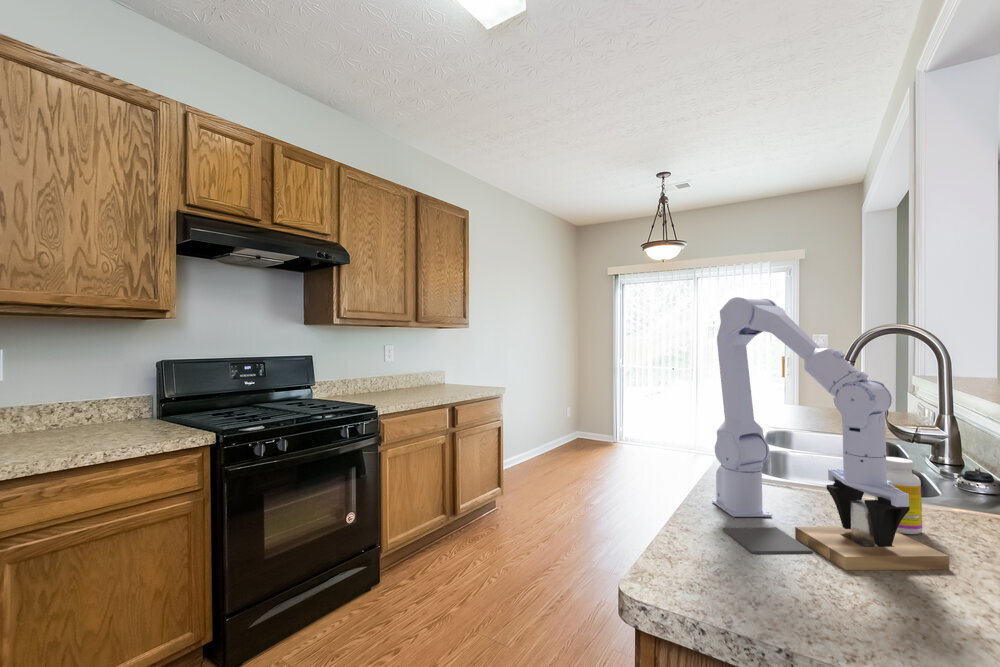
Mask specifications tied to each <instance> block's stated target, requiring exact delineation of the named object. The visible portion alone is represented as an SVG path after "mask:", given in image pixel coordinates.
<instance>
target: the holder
mask: <svg viewBox="0 0 1000 667" xmlns="http://www.w3.org/2000/svg"><path fill="white" fill-rule="evenodd" d="M794 532H795V533H794V536H795V537H794V539H795V540H797V541H798V542H800V543H801V544H803V545H805V546H806V547H808V548H809V549H811V550H812V551H815V552H816V553H818V554H820V555H821V556H822V557H824V558H826V559H827V560H829V561H830V562H832V563H833V564H835V565H837V566H838V567H840V568H842V569H843V570H845V571H891V570H893V571H894V570H896V571H897V570H898V571H901V570H902V571H903V570H905V571H909V570H911V571H912V570H915V571H916V570H917V571H918V570H950V555H948V554H945V553H943V552H942V551H939V550H937V549H935V548H932V547H930V546H928V545H926V544H924V543H922V542H919V541H917V540H915V539H913V538H911V537H909V536H907V535H906V534H902V533H898V532H896V533H895V537H894V540H893V543H892V546H887V547H862V546H860V545H858V544H856V543H854V542H853V541H851V529H845V528H843V526H842V525H840V526H795V528H794Z"/></svg>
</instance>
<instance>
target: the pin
mask: <svg viewBox="0 0 1000 667" xmlns="http://www.w3.org/2000/svg"><path fill="white" fill-rule="evenodd" d="M864 500H865V499H863V500H851V501H850V508H851V541H853V542H854V543H856V544H858V545H860V546H862V547H880V546H877V545H876V544H875V540H874V534H873V525H872V520H871V516H870V513H869V511H868V508H867V506H866V504H865V501H864Z"/></svg>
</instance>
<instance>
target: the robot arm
mask: <svg viewBox="0 0 1000 667" xmlns="http://www.w3.org/2000/svg"><path fill="white" fill-rule="evenodd" d="M719 318H720V323H719V324H720V325H719V328H718V332H717V335H716V344H717V353H718V365H719V373H720V374H719V375H720V383H721V385H720V386H721V393H722V404H723V413H724V414H723V415H724V421H723V422H722V424H721V425H720V426H719V428H717V430H716V435H717V436H716V442H715V444H714V455H715V458H716V460H717V461H718V462H719V464H720V465H719V466H718V468H717V469H716V474H715V486H716V487H715V489H716V490H715V494H716V496H715V497H716V499H712V503H713V504H715V505H716V506H718V507H719V508H720V509H721V510H723V511H725V512H726V513H728V514H729V515H730V516H732V517H734V518H737V517H738V518H754V517H755V518H757V517H758V518H759V517H761V518H763V517H766V518H767V517H768V518H771V517H773V514H772V513H771V512H769V511H768V510H766V509H765V508H764V507H763V474H762V473H763V472H762V471H763V468H764V462H766V461H767V459H768V458H769V456H770V447H769V443H768V442H767V440H766V438H765V435H764V431H763V430H764V428H762V427H761V425H759V424H758V423H757V421H755V417H754V416H755V415H754V407H753V398H752V389H751V387H752V386H751V377H750V370H749V361H748V360H749V359H748V350H747V345H748V344H749V343H750V342H751V341H752V340H753V339H754V338H755V336H758V335H759V334H761V333H763V332H764V333H765V332H766V333H771V334H772V335H773V336H774V337H776V338H777V339H779V341H781V342H782V343H783V344H784V345H786V347H788V348H789V349H791V350H792V352H794V353H795V354H796V355H797V356H799V357H800V358H801V359H803V362H804V365H803V366H804V367H803V368H804V370H805V372H807V373H808V374H809V375H810V376H811V377H812V378H813V379H814V380H815V381H816V382H817V383H818V384H819V385H820V386H821V387H822V388H823V389H824V390H825V391H827V392H828V393H829V394H830V395H831V396H833V403H834V406H835V407H836V409H837V411H839V413H840V415H841V422H842V423H841V425H842V426H841V427H842V467H843V468H842V469H843V470H841V469H838V468H836V469H835V468H831V469H830V468H829V469H827V470H828V471H827V472H828V474H827V475H828V476H827V477H828V481H830V482H833V484H826V491H827V492H828V493H829V495H830V496H831V498H832V499H833V502H834V504H835V506H836V509H837V512H838V513H837V514H838V515H839V519H840V521H841V522H840V523H841V524H842V525H841V526H843V528H845V529H851V508H850V501H851V500H862V499H863V496H864V494H867V495H870V496H872V497H877V498H878V500H875V499H863V500H864V501H865V504H866V506H867V508H868V511H869V513H870V516H871V520H872V525H873V534H874V540H875V544H876V545H877V546H880V547H887V546H892V543H893V540H894V537H895V533H896V531H897V528H898V526H899V524H900V522H901V520H902V519H903V517H904V516H905V515H906V514H907V512H908V511H909V510H910V506H909V494H907V493H904V492H902V491H900V490H899V489H897V488H895V487H894V486H892V482H891V481H889V480H887V465H886V457H887V437H886V436H887V434H886V433H887V432H886V430H887V429H886V412H887V411H888V410H889V409H890V407H892V404H893V403H892V400H893V399H892V394H891V392H890V391H889V389H888V388H887V387H886V386H885V384H884V383H883V382H880V381H879V380H873V379H868V377H869V375H868V374H867V373H865V372H864V371H860V370H858V369H857V368H856V367H855V366H853V365H852V364H851V363H850V362H849V361H847V360H846V359H845V357H846V354H845V353H844V352H843V351H842V350H835V349H833V348H831V347H830V348H829V347H824V348H821V346H819V344H817V342H815V340H813V339H812V338H811V337H810V336H809V335H808V334H807V333H806V332H805V331H804V330H803V329H802V328H801V327H800V326H799V325H798V324H796V322H795V321H793V319H792V318H791V317H790V316H788V314H787V313H786V311H785V309H784V308H783V307H781V306H779V305H777V303H776V302H775V301H773V300H771V299H768V298H747V297H746V298H745V297H742V296H735V297H732V298H730V299H729V300H728V301H727V302H726V303H725V304H724V305H723V307H722V308H721V309H720V310H719Z"/></svg>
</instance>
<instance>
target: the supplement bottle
mask: <svg viewBox="0 0 1000 667" xmlns="http://www.w3.org/2000/svg"><path fill="white" fill-rule="evenodd" d="M886 465H887V480H889V481H891V482H892V486H894V487H895V488H897V489H899V490H900V491H902V492H904V493H907V494H909V506H910V510H909V511H908V512H907V514H906V515H905V516H904V517H903V519H902V520H901V522H900V524H899V526H898V528H897V531H896V532H898V533H900V534H902V535H919V534H921V533H922V532H923V508H922V482H921V479H920V478H919V477H918V476H917V475H916V474H915V473H913V468H914V461H913V460H911V459H907V458H903V457H899V456H897V457H896V456H886ZM874 497H875V496H874ZM874 500H878V498H877V497H875V499H874Z"/></svg>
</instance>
